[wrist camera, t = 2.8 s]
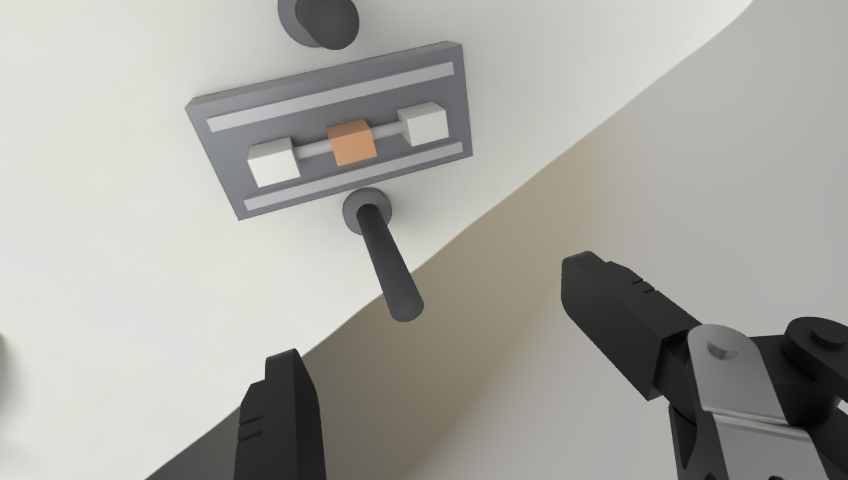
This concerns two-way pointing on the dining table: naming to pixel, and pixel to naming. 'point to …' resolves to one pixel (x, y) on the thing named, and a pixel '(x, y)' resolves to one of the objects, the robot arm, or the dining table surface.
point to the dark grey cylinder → (320, 22)
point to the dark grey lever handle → (383, 251)
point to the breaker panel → (327, 106)
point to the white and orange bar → (346, 142)
